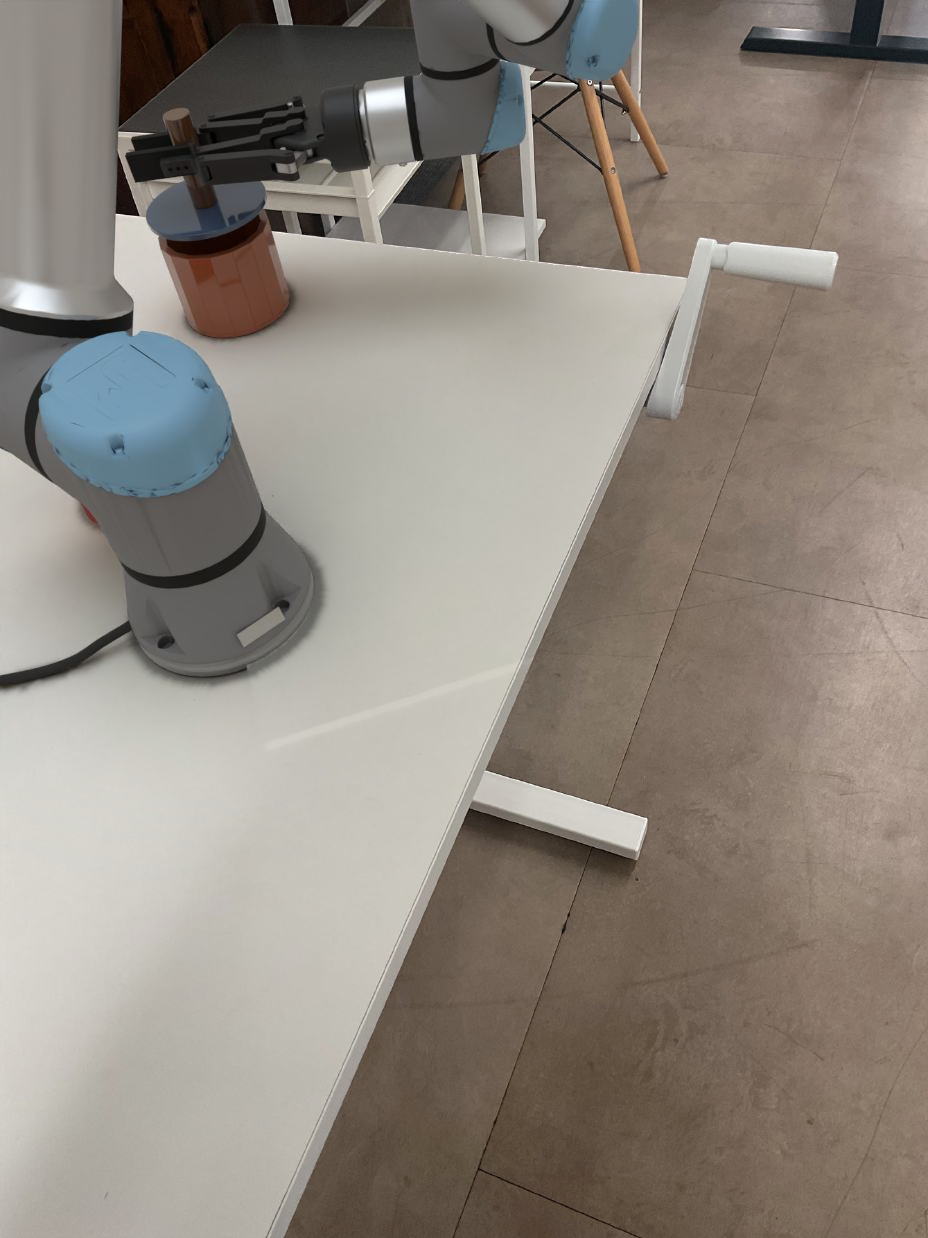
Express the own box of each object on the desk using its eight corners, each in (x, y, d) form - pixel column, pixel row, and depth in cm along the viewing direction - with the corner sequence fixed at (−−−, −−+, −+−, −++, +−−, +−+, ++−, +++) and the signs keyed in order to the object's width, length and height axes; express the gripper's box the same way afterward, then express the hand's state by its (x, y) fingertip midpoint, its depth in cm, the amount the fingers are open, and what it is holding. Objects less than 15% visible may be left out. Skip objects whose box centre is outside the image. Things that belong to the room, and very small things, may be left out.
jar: (195, 349, 109) (164, 270, 102) (182, 294, 116) (153, 217, 109) (298, 320, 110) (276, 240, 103) (279, 267, 118) (257, 189, 110)
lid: (221, 255, 99) (186, 152, 91) (125, 236, 104) (84, 137, 96) (291, 190, 106) (265, 90, 98) (198, 175, 110) (165, 78, 103)
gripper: (372, 203, 96) (134, 235, 98) (375, 127, 106) (159, 158, 108) (356, 124, 91) (103, 160, 92) (361, 52, 101) (133, 86, 102)
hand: (134, 159), depth 100 cm, fingers closed on lid, 3 cm apart
